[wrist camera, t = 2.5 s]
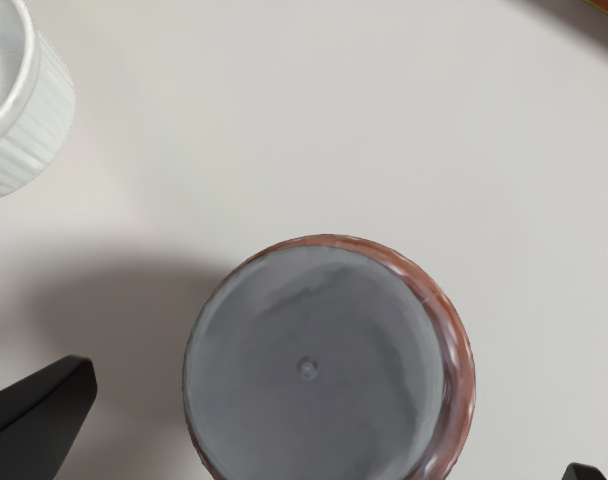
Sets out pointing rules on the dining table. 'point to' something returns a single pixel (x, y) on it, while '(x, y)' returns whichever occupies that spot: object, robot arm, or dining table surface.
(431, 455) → the supplement bottle
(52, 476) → the robot arm
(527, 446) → the dining table surface
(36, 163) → the ramekin
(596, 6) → the carton
